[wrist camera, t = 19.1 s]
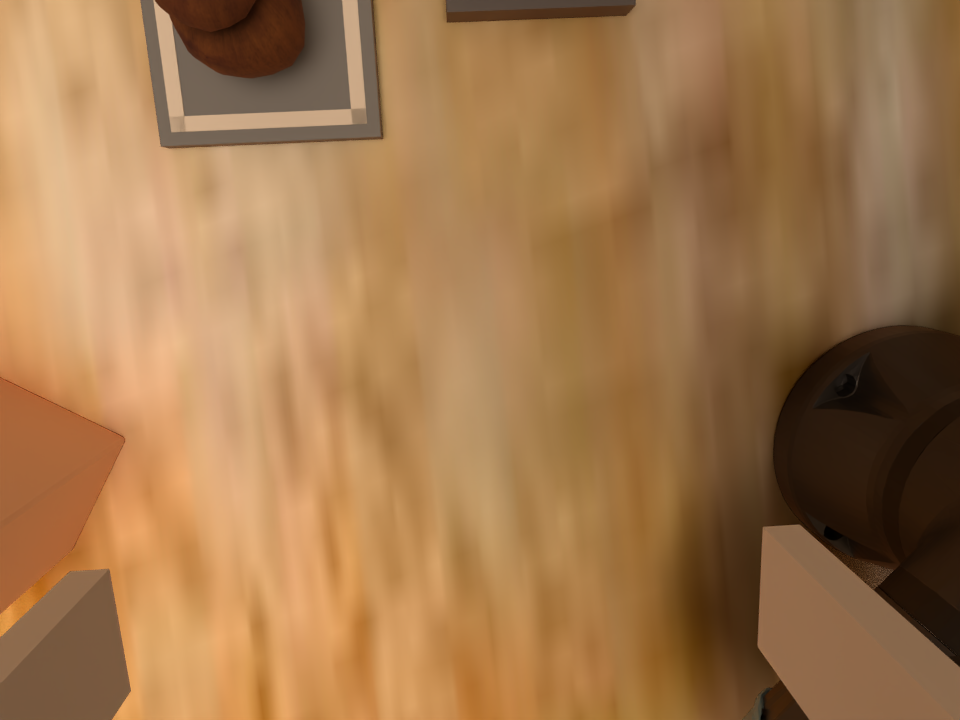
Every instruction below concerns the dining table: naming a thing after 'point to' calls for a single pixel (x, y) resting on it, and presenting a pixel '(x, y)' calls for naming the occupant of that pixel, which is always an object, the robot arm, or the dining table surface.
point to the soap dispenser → (45, 484)
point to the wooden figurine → (240, 33)
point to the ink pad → (533, 9)
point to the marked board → (271, 85)
